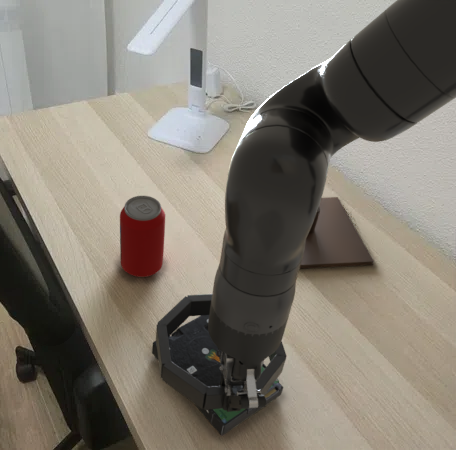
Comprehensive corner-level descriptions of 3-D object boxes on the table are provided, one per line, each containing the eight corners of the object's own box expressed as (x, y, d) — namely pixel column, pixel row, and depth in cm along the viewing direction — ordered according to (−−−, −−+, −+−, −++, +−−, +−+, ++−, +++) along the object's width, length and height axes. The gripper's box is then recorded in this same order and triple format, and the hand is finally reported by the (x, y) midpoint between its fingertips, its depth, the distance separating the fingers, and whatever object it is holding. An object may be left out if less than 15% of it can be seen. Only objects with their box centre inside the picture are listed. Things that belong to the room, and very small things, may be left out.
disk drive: (150, 355, 75) (222, 439, 66) (150, 342, 73) (224, 427, 64) (208, 321, 80) (282, 395, 71) (209, 308, 78) (286, 382, 69)
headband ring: (261, 305, 76) (265, 290, 74) (292, 403, 65) (297, 389, 63) (152, 311, 75) (153, 296, 73) (164, 413, 64) (166, 398, 62)
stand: (336, 200, 102) (344, 176, 99) (372, 265, 90) (382, 240, 86) (247, 203, 101) (251, 179, 97) (270, 270, 88) (276, 244, 84)
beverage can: (144, 245, 92) (146, 187, 84) (171, 267, 88) (175, 209, 80) (112, 262, 88) (110, 203, 80) (138, 287, 84) (139, 228, 76)
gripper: (310, 357, 48) (276, 453, 59) (271, 250, 58) (248, 350, 70) (226, 363, 47) (207, 459, 59) (201, 254, 58) (189, 353, 69)
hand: (229, 399), depth 64 cm, fingers closed on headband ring, 1 cm apart
